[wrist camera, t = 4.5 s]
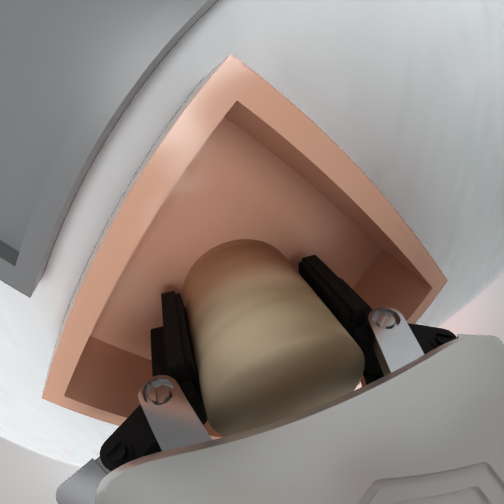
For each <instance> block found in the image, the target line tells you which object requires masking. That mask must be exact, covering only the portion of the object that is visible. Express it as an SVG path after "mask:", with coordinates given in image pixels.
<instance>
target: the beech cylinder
mask: <svg viewBox="0 0 504 504" xmlns="http://www.w3.org/2000/svg"><path fill="white" fill-rule="evenodd" d="M183 303H184V307H185V312H186V317H187V323H188V328H189V334H190V339H191V344H192V349H193V354H194V359H195V363H196V368H197V373H198V377H199V385H200V389H201V394H202V398H203V402H204V407H205V411H206V415H207V419H208V421H209V424H210V425H211V427H212V428H213V429H214V430H215V431H216V432H217V433H219V434H220V435H222V436H224V437H226V436H230V435H234V434H237V433H241V432H245V431H248V430H251V429H255V428H258V427H261V426H264V425H268V424H271V423H274V422H277V421H280V420H283V419H285V418H288V417H291V416H294V415H297V414H299V413H302V412H305V411H307V410H310V409H313V408H315V407H318V406H320V405H323V404H325V403H327V402H330V401H332V400H335V399H337V398H339V397H342V396H344V395H346V394H348V393H351V392H353V391H354V389H355V388H356V386H357V385H358V383H359V381H360V379H361V377H362V374H363V371H364V366H365V358H364V354H363V352H362V350H361V348H360V347H359V346H358V344H357V343H356V342H355V341H354V339H353V338H352V337H351V336H350V335H349V333H348V332H347V331H346V330H345V328H344V327H343V326H342V325H341V323H340V322H339V321H338V320H337V319H336V317H335V316H334V315H333V314H332V313H331V311H330V310H329V309H328V308H327V306H326V305H325V304H324V303H323V302H322V300H321V299H320V298H319V297H318V296H317V294H316V293H315V292H314V291H313V290H312V288H311V287H310V286H309V285H308V284H307V282H306V281H305V280H304V279H303V278H302V276H301V275H300V274H299V273H298V272H297V270H296V269H295V268H294V267H293V266H292V264H291V263H290V262H289V261H288V260H287V259H286V257H285V256H284V255H283V254H282V253H281V252H280V251H279V250H278V249H276V248H275V247H274V246H272V245H270V244H268V243H265V242H263V241H258V240H253V239H238V240H233V241H229V242H225V243H222V244H220V245H218V246H215V247H214V248H212V249H210V250H209V251H207V252H206V253H205V254H203V255H202V256H201V257H200V258H199V259H198V260H197V261H196V262H195V263H194V265H193V266H192V267H191V269H190V270H189V272H188V274H187V276H186V279H185V281H184V285H183Z"/></svg>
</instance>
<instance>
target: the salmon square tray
mask: <svg viewBox="0 0 504 504" xmlns="http://www.w3.org/2000/svg"><path fill="white" fill-rule="evenodd" d="M238 239H253V240H258V241H263V242H265V243H268V244H270V245H272V246H274V247H275V248H276V249H278V250H279V251H280V252H281V253H282V254H283V255H284V256H285V257H286V259H287V260H288V261H289V262H290V263H291V264H292V266H293V267H294V268H295V269H296V270H297V272H298V273H299V270H298V264H299V262H301V261H302V258H303V257H307V256H311V255H316V256H317V257H318V258H319V259H320V260H321V261H323V262H324V263H325V264H326V265H327V266H328V267H329V268H330V269H331V270H332V271H333V272H334V273H335V274H336V275H337V276H338V277H339V278H341V279H343V280H344V281H345V282H346V283H347V284H348V285H349V286H350V287H351V288H352V289H353V290H354V291H355V292H356V293H357V294H358V295H359V296H360V297H361V298H362V299H363V300H364V301H365V302H366V303H367V304H368V305H369V306H370V307H371V308H372V309H373V310H374V309H375V308H378V307H391V308H394V309H396V310H398V311H399V312H400V313H401V314H402V315H403V317H404V318H405V320H406V322H407V323H410V324H415V323H416V321H417V320H418V319H419V318H420V317H421V315H422V314H423V313H424V312H425V310H426V309H427V308H428V306H429V305H430V304H431V303H432V301H433V300H434V299H435V297H436V296H437V295H438V293H439V292H440V291H441V289H442V288H443V286H444V285H445V284H446V282H447V279H446V278H445V276H444V275H443V273H442V272H441V270H440V269H439V267H438V266H437V264H436V263H435V261H434V260H433V259H432V257H431V256H430V254H429V253H428V252H427V250H426V249H425V247H424V246H423V245H422V243H421V242H420V241H419V239H418V238H417V237H416V235H415V234H414V233H413V231H412V230H411V229H410V228H409V226H408V225H407V224H406V222H405V221H404V220H403V219H402V217H401V216H400V215H399V214H398V212H397V211H396V210H395V209H394V208H393V206H392V205H391V204H390V203H389V202H388V200H387V199H386V198H385V197H384V196H383V194H382V193H381V192H380V191H379V190H378V189H377V188H376V186H375V185H374V184H373V183H372V182H371V181H370V180H369V179H368V177H367V176H366V175H365V174H364V173H363V172H362V171H361V170H360V169H359V168H358V167H357V165H356V164H355V163H354V162H353V161H352V160H351V159H350V158H349V157H348V156H347V155H346V154H345V153H344V152H343V151H342V150H341V149H340V148H339V147H338V146H337V145H336V144H335V143H334V142H333V141H332V140H331V139H330V138H329V137H328V136H327V135H326V134H325V133H324V132H323V131H322V130H321V129H320V128H319V127H318V126H317V125H316V124H315V123H314V122H313V121H311V120H310V119H309V118H308V117H307V116H306V115H305V114H304V113H303V112H302V111H300V110H299V109H298V108H297V107H296V106H295V105H294V104H293V103H291V102H290V101H289V100H288V99H287V98H286V97H285V96H283V95H282V94H281V93H280V92H279V91H277V90H276V89H275V88H274V87H273V86H271V85H270V84H269V83H268V82H267V81H265V80H264V79H263V78H262V77H260V76H259V75H258V74H257V73H255V72H254V71H253V70H251V69H250V68H249V67H247V66H246V65H245V64H244V63H242V62H241V61H240V60H238V59H237V58H235V57H234V56H233V55H231V54H230V55H229V56H228V57H227V58H226V59H225V60H223V61H222V62H221V63H220V64H219V65H218V66H217V67H215V68H214V69H213V70H212V71H211V72H210V73H209V74H208V75H207V76H205V77H204V78H203V80H202V81H201V82H200V83H199V85H198V86H197V87H196V88H195V90H194V91H193V92H192V93H191V95H190V96H189V97H188V98H187V100H186V101H185V102H184V104H183V105H182V106H181V108H180V109H179V110H178V112H177V113H176V114H175V116H174V117H173V118H172V120H171V121H170V123H169V124H168V125H167V127H166V128H165V130H164V131H163V133H162V134H161V135H160V137H159V138H158V140H157V141H156V143H155V144H154V146H153V147H152V149H151V150H150V152H149V153H148V155H147V156H146V158H145V159H144V161H143V163H142V164H141V166H140V167H139V169H138V171H137V172H136V174H135V175H134V177H133V179H132V180H131V182H130V184H129V185H128V187H127V189H126V190H125V192H124V194H123V196H122V197H121V199H120V201H119V203H118V204H117V206H116V208H115V210H114V212H113V213H112V215H111V217H110V219H109V221H108V223H107V225H106V226H105V228H104V230H103V232H102V234H101V236H100V238H99V240H98V242H97V244H96V246H95V248H94V250H93V252H92V254H91V256H90V259H89V261H88V263H87V265H86V267H85V269H84V272H83V274H82V276H81V278H80V281H79V283H78V285H77V288H76V290H75V292H74V295H73V297H72V300H71V302H70V304H69V307H68V310H67V312H66V315H65V317H64V320H63V323H62V325H61V328H60V331H59V335H58V338H57V341H56V345H55V348H54V351H53V355H52V359H51V362H50V366H49V370H48V374H47V378H46V382H45V386H44V391H43V395H42V398H43V399H45V400H47V401H50V402H52V403H55V404H57V405H60V406H62V407H65V408H67V409H70V410H72V411H75V412H78V413H81V414H84V415H86V416H89V417H92V418H95V419H98V420H102V421H105V422H108V423H111V424H115V425H118V426H120V425H121V424H122V423H123V422H124V421H125V420H126V419H127V418H128V417H129V416H130V415H131V414H132V413H133V411H134V410H135V409H136V408H137V407H138V406H139V405H140V401H139V398H138V392H139V388H140V387H141V385H142V384H143V383H144V382H145V381H146V380H147V379H149V378H151V377H153V375H152V359H151V335H150V331H151V329H153V328H158V327H162V326H163V317H162V302H161V294H163V293H167V292H171V291H175V294H178V293H180V294H181V297H182V301H183V285H184V281H185V279H186V276H187V274H188V272H189V270H190V269H191V267H192V266H193V265H194V263H195V262H196V261H197V260H198V259H199V258H200V257H201V256H202V255H203V254H205V253H206V252H207V251H209V250H210V249H212V248H214V247H215V246H218V245H220V244H222V243H225V242H229V241H233V240H238ZM183 304H184V303H183ZM360 382H361V381H359V383H360ZM359 383H358V384H359ZM204 428H205V429H206V431H207V432H208V434H209V435H210V437H211V438H212V440H214V439H218V438H222V437H224V436H222V435H220V434H219V433H217V432H216V431H215V430H214V429H213V428H212V427H211V425H210V424H209V421H208V419H207V422H206V423H205V424H204Z"/></svg>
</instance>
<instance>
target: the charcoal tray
mask: <svg viewBox="0 0 504 504" xmlns="http://www.w3.org/2000/svg"><path fill="white" fill-rule="evenodd" d="M217 1H218V0H0V280H1V281H3V282H4V283H6V284H8V285H9V286H11V287H13V288H14V289H16V290H18V291H19V292H21V293H23V294H24V295H26V296H28V297H31V296H32V294H33V292H34V290H35V288H36V286H37V285H38V283H39V281H40V279H41V278H42V276H43V273H44V271H45V268H46V265H47V262H48V259H49V257H50V254H51V251H52V249H53V246H54V243H55V241H56V238H57V236H58V234H59V231H60V229H61V226H62V224H63V222H64V219H65V217H66V215H67V213H68V210H69V208H70V206H71V204H72V202H73V200H74V198H75V196H76V194H77V192H78V190H79V188H80V186H81V184H82V182H83V180H84V178H85V176H86V174H87V172H88V170H89V168H90V166H91V165H92V163H93V161H94V159H95V157H96V156H97V154H98V152H99V150H100V149H101V147H102V145H103V144H104V142H105V140H106V139H107V137H108V135H109V134H110V132H111V131H112V129H113V127H114V126H115V124H116V123H117V121H118V120H119V118H120V117H121V115H122V114H123V112H124V111H125V109H126V108H127V106H128V105H129V103H130V102H131V100H132V99H133V98H134V96H135V95H136V93H137V92H138V91H139V89H140V88H141V87H142V85H143V84H144V82H145V81H146V80H147V79H148V77H149V76H150V75H151V73H152V72H153V71H154V70H155V68H156V67H157V66H158V65H159V63H160V62H161V61H162V60H163V58H164V57H165V56H166V55H167V54H168V52H169V51H170V50H171V49H172V48H173V47H174V45H175V44H176V43H177V42H178V41H179V40H180V39H181V38H182V36H183V35H184V34H185V33H186V32H187V31H188V30H189V29H190V28H191V27H192V26H193V25H194V24H195V23H196V22H197V20H198V19H199V18H200V17H201V16H202V15H203V14H204V13H205V12H206V11H207V10H208V9H210V8H211V7H212V6H213V5H214V4H215V3H216V2H217Z"/></svg>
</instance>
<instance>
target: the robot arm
mask: <svg viewBox="0 0 504 504" xmlns="http://www.w3.org/2000/svg"><path fill="white" fill-rule="evenodd" d="M298 270H299V274H300V275H301V276H302V278H303V279H304V280H305V281H306V282H307V284H308V285H309V286H310V287H311V288H312V290H313V291H314V292H315V293H316V294H317V296H318V297H319V298H320V299H321V300H322V302H323V303H324V304H325V305H326V306H327V308H328V309H329V310H330V311H331V313H332V314H333V315H334V316H335V317H336V319H337V320H338V321H339V322H340V323H341V325H342V326H343V327H344V328H345V330H346V331H347V332H348V333H349V335H350V336H351V337H352V338H353V339H354V341H355V342H356V343H357V344H358V346H359V347H360V348H361V350H362V352H363V354H364V358H365V366H364V371H363V374H362V377H361V379H360V381H361V384H362V387H361V388H360V389H357V390H355V391H353V392H351V393H348V394H346V395H344V396H342V397H339V398H337V399H335V400H332V401H330V402H327V403H325V404H323V405H320V406H318V407H315V408H313V409H310V410H307V411H305V412H302V413H299V414H297V415H294V416H291V417H288V418H285V419H283V420H280V421H277V422H274V423H271V424H268V425H264V426H261V427H258V428H255V429H251V430H248V431H245V432H241V433H237V434H234V435H230V436H226V437H222V438H218V439H214V440H212V438H211V437H210V435H209V434H208V432H207V431H206V429H205V428H204V424H205V423H206V422H207V415H206V411H205V407H204V402H203V398H202V394H201V389H200V385H199V377H198V373H197V368H196V363H195V359H194V354H193V349H192V344H191V339H190V334H189V328H188V323H187V317H186V312H185V307H184V304H183V301H182V297H181V294H180V293H178V294H175V291H171V292H167V293H163V294H161V302H162V317H163V326H162V327H158V328H153V329H151V331H150V335H151V359H152V375H153V377H151V378H149V379H147V380H146V381H145V382H144V383H143V384H142V385H141V387H140V388H139V392H138V398H139V401H140V405H139V406H138V407H137V408H136V409H135V410H134V411H133V413H132V414H131V415H130V416H129V417H128V418H127V419H126V420H125V421H124V422H123V423H122V424H121V425H120V426H119V427H118V429H117V430H116V431H115V432H114V433H113V434H112V435H111V436H110V437H109V438H108V439H107V440H106V441H105V442H104V444H103V445H102V447H101V450H100V457H98V458H97V459H96V460H94V459H91V460H90V461H89V462H88V463H87V464H85V465H84V466H83V467H82V468H81V469H79V470H78V471H77V472H76V473H74V474H73V475H72V476H71V477H70V478H68V479H67V480H66V481H65V482H63V483H62V484H61V485H60V486H59V487H58V489H57V492H56V500H57V502H58V504H504V344H503V342H502V341H501V340H500V339H499V338H497V337H495V336H487V335H465V334H458V336H457V337H456V336H455V335H454V334H453V333H452V332H450V331H449V330H445V329H441V328H435V327H429V326H422V325H416V324H410V323H407V322H406V320H405V318H404V317H403V315H402V314H401V313H400V312H399V311H398V310H396V309H394V308H391V307H378V308H375V309H374V310H373V309H372V308H371V307H370V306H369V305H368V304H367V303H366V302H365V301H364V300H363V299H362V298H361V297H360V296H359V295H358V294H357V293H356V292H355V291H354V290H353V289H352V288H351V287H350V286H349V285H348V284H347V283H346V282H345V281H344V280H343V279H341V278H339V277H338V276H337V275H336V274H335V273H334V272H333V271H332V270H331V269H330V268H329V267H328V266H327V265H326V264H325V263H324V262H323V261H321V260H320V259H319V258H318V257H317V256H316V255H311V256H307V257H303V258H302V261H301V262H299V264H298Z"/></svg>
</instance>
